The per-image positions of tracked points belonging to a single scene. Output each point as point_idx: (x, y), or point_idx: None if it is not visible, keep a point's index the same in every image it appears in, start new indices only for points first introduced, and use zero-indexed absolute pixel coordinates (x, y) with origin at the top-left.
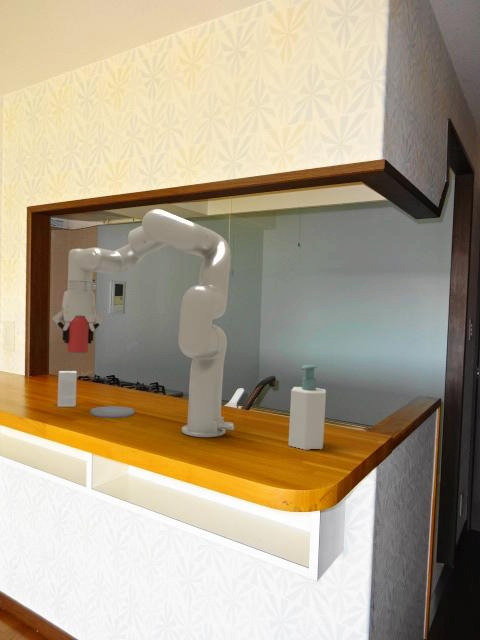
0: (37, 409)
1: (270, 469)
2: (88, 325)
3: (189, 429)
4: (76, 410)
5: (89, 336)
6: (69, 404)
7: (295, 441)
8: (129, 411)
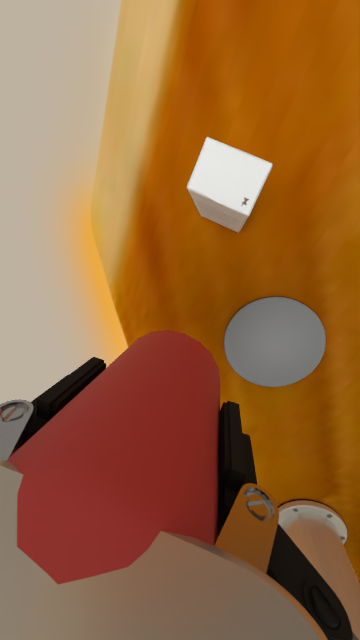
0: (150, 225)
1: None
2: None
3: (281, 524)
4: (220, 276)
5: None
6: (225, 226)
7: None
8: (297, 372)
